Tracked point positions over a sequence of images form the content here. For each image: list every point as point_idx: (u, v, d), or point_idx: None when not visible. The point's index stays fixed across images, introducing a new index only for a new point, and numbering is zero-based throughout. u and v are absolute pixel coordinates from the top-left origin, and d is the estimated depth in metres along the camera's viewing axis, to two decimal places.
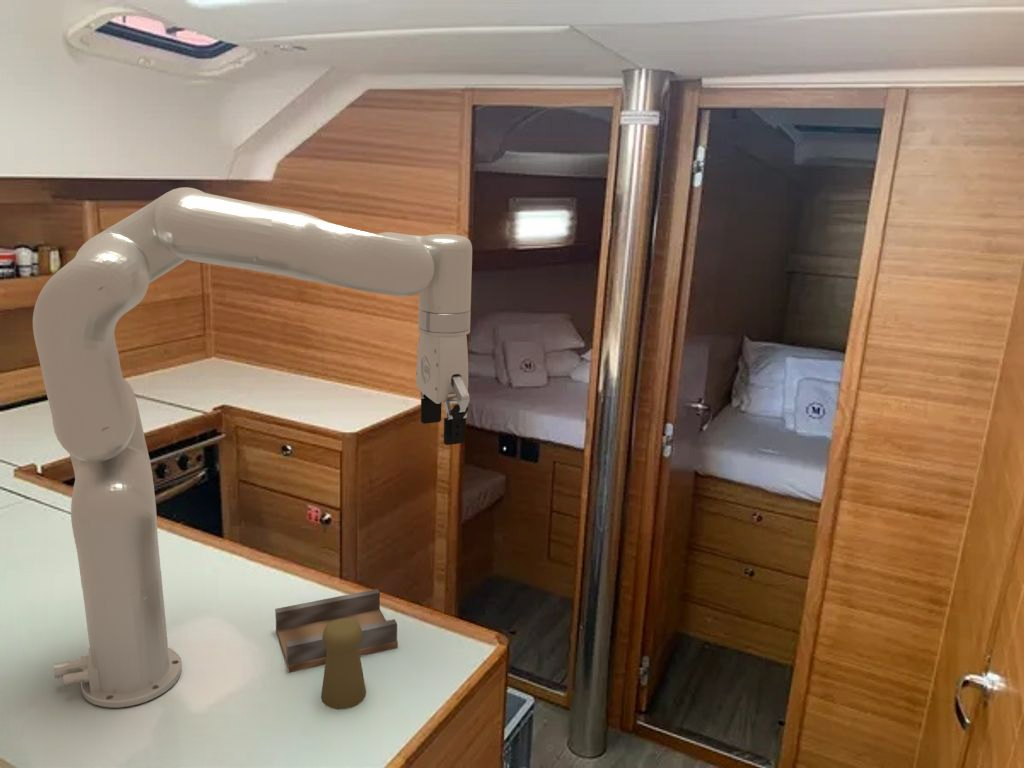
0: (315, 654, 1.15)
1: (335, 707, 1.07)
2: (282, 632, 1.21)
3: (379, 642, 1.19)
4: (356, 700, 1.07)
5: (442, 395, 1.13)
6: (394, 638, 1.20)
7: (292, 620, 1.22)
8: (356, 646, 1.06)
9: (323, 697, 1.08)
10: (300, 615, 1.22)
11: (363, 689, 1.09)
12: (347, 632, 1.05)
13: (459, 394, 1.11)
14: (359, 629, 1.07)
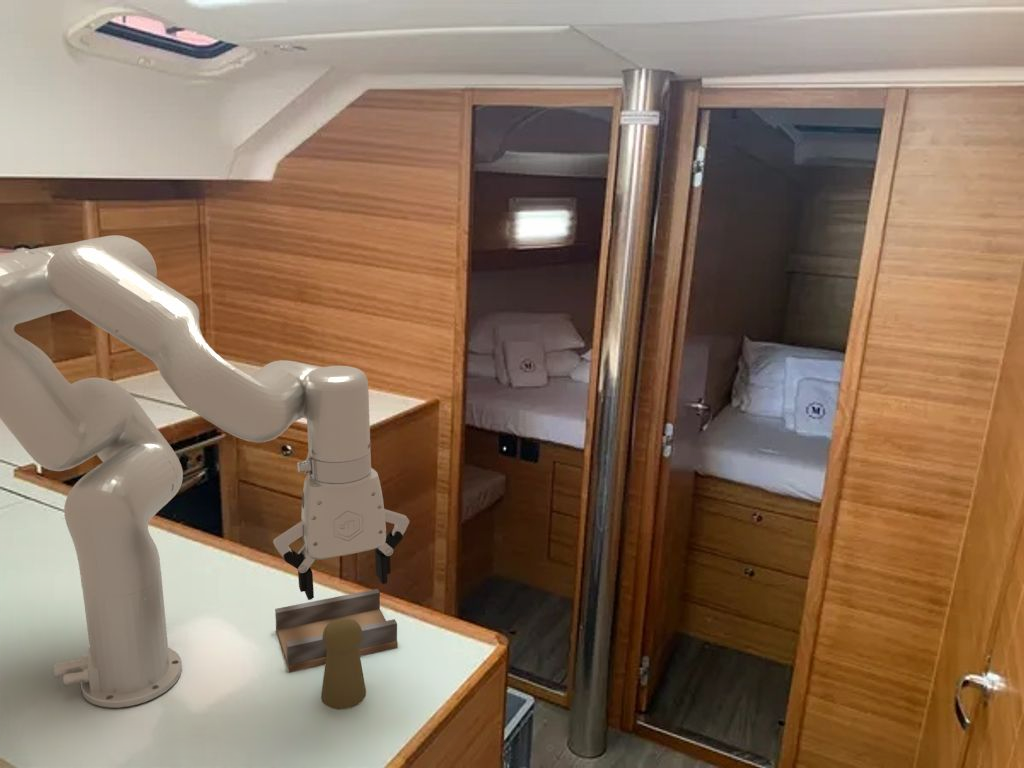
0: (315, 654, 1.15)
1: (335, 707, 1.07)
2: (282, 632, 1.21)
3: (379, 642, 1.19)
4: (356, 700, 1.07)
5: None
6: (394, 638, 1.20)
7: (292, 620, 1.22)
8: (356, 646, 1.06)
9: (323, 697, 1.08)
10: (300, 615, 1.22)
11: (363, 689, 1.09)
12: (347, 632, 1.05)
13: (402, 520, 1.05)
14: (359, 629, 1.07)
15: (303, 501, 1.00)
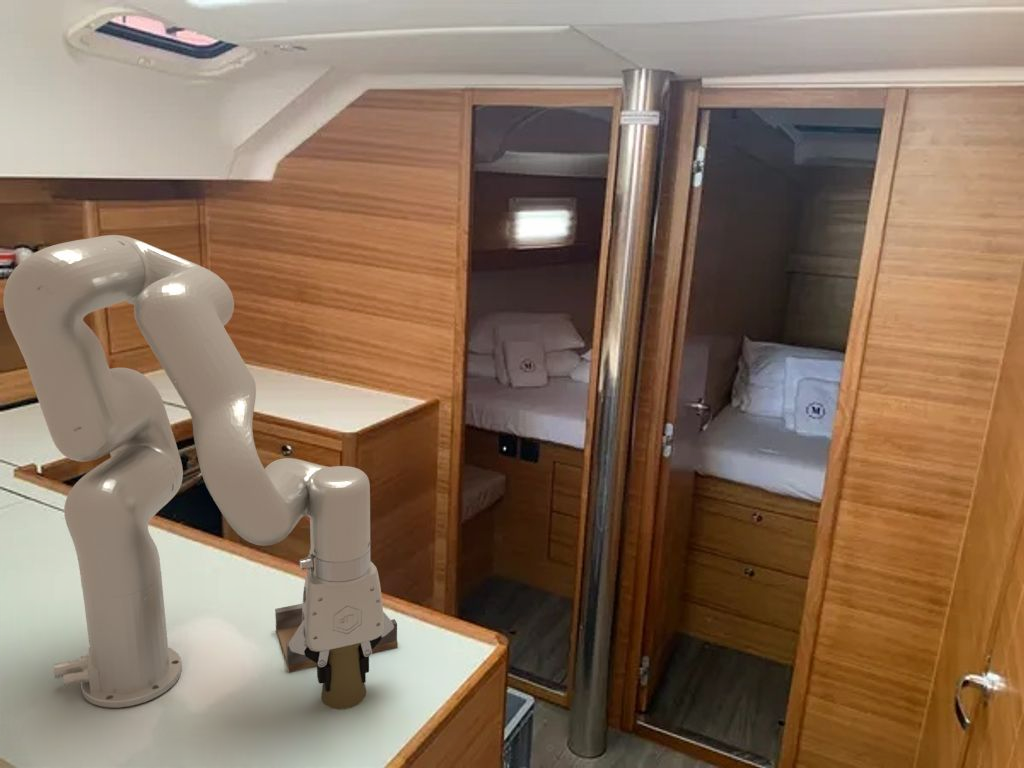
0: None
1: (335, 707, 1.07)
2: (282, 632, 1.21)
3: (379, 642, 1.19)
4: (356, 700, 1.07)
5: (383, 625, 1.07)
6: (394, 638, 1.20)
7: (292, 620, 1.22)
8: (356, 646, 1.06)
9: (323, 697, 1.08)
10: (300, 615, 1.22)
11: (363, 689, 1.09)
12: None
13: (389, 624, 1.09)
14: None
15: (304, 595, 1.04)
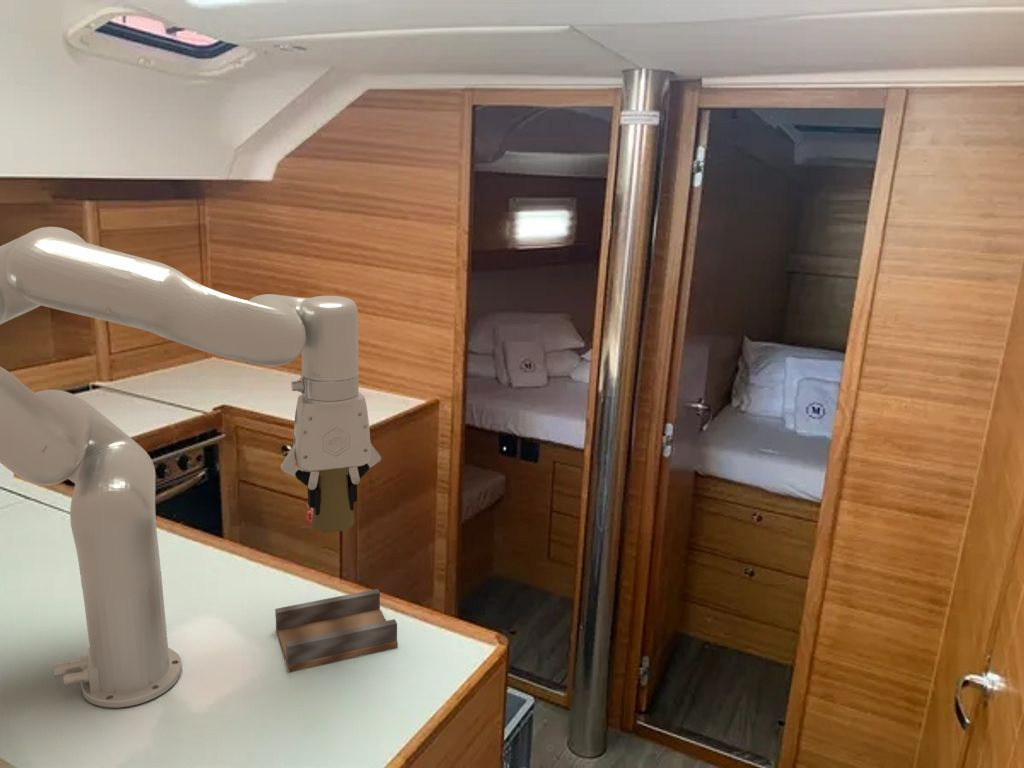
0: (315, 654, 1.15)
1: (324, 530, 1.13)
2: (282, 632, 1.21)
3: (379, 642, 1.19)
4: (344, 525, 1.13)
5: (370, 453, 1.13)
6: (394, 638, 1.20)
7: (292, 620, 1.22)
8: (344, 471, 1.12)
9: (313, 522, 1.14)
10: (300, 615, 1.22)
11: (351, 517, 1.15)
12: None
13: (376, 455, 1.15)
14: None
15: (296, 419, 1.10)
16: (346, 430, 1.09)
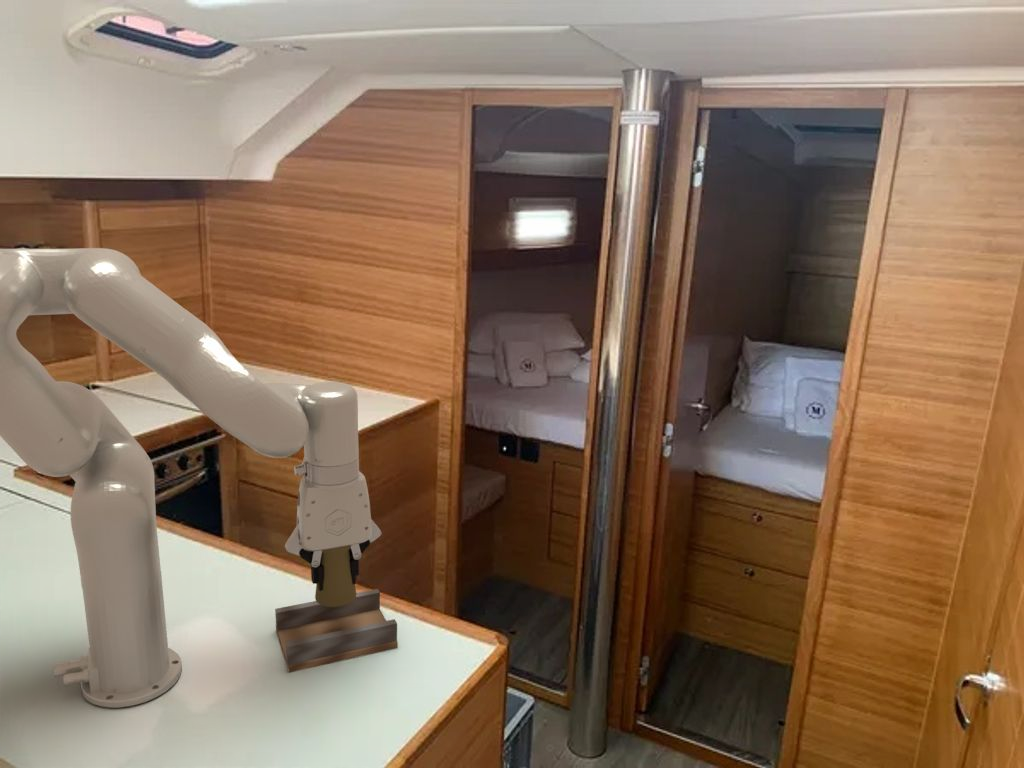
0: (315, 654, 1.15)
1: (328, 605, 1.17)
2: (282, 632, 1.21)
3: (379, 642, 1.19)
4: (347, 599, 1.17)
5: (371, 530, 1.17)
6: (394, 638, 1.20)
7: (292, 620, 1.22)
8: (346, 548, 1.16)
9: (317, 597, 1.18)
10: (300, 615, 1.22)
11: (354, 590, 1.19)
12: None
13: (377, 530, 1.19)
14: None
15: (299, 500, 1.14)
16: (348, 510, 1.13)
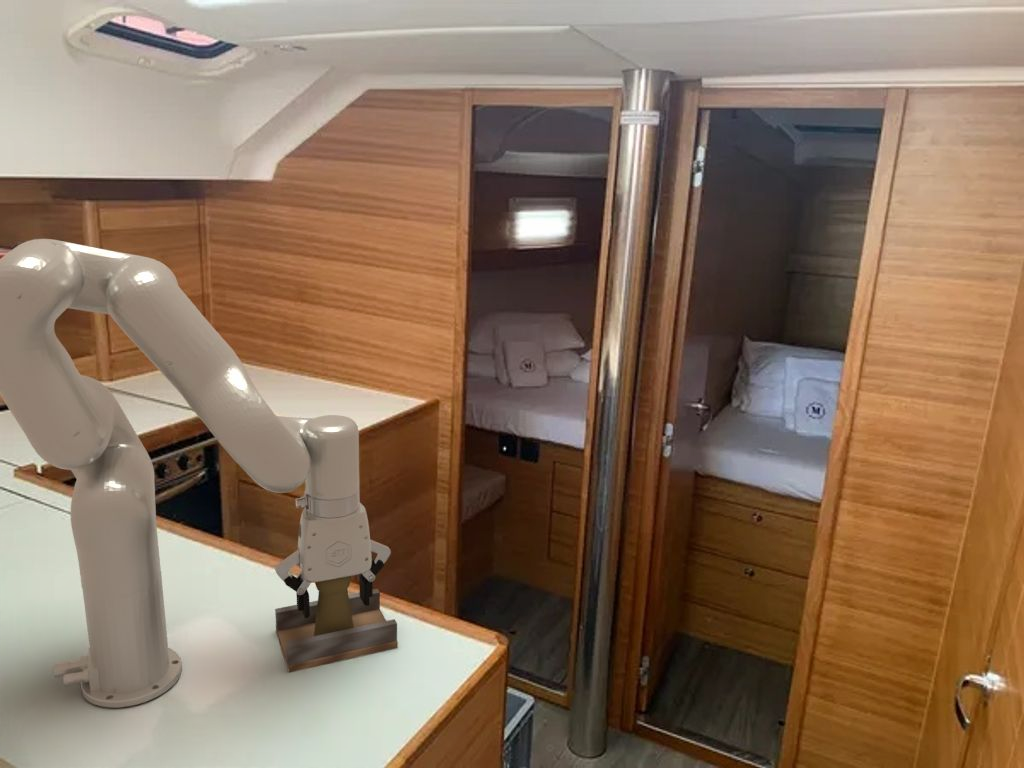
0: (315, 654, 1.15)
1: None
2: (282, 632, 1.21)
3: (379, 642, 1.19)
4: None
5: (371, 560, 1.18)
6: (394, 638, 1.20)
7: (292, 620, 1.22)
8: (345, 588, 1.17)
9: (315, 635, 1.19)
10: (300, 615, 1.22)
11: None
12: None
13: (385, 550, 1.20)
14: None
15: (300, 531, 1.15)
16: (348, 542, 1.15)
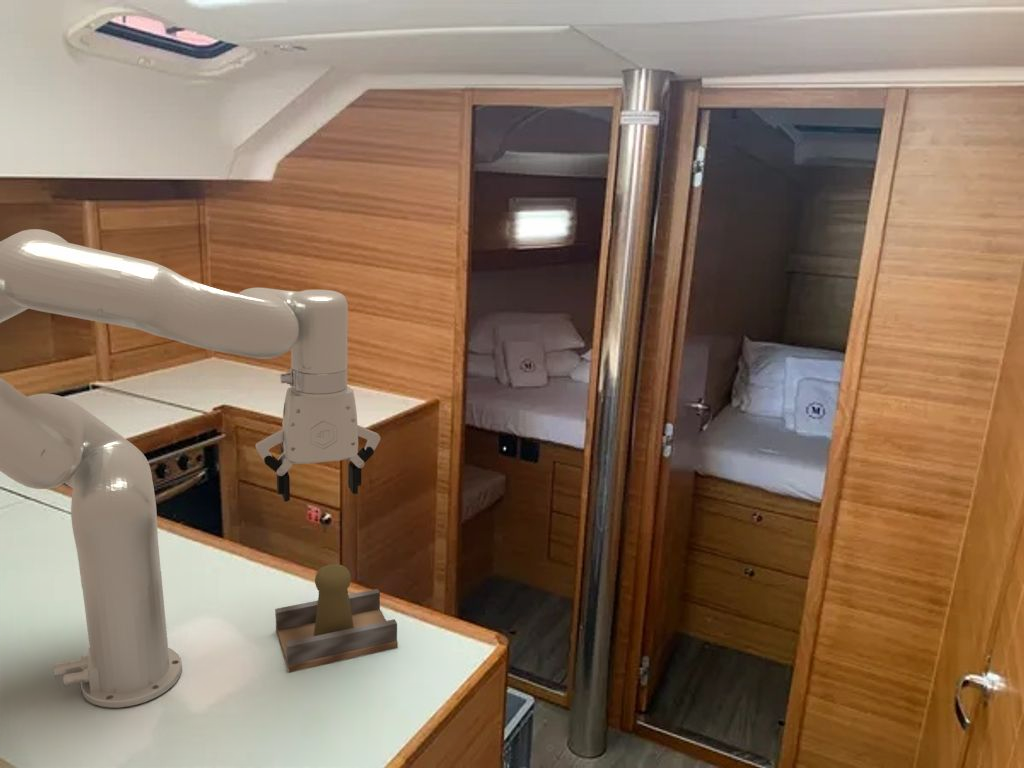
0: (315, 654, 1.15)
1: None
2: (282, 632, 1.21)
3: (379, 642, 1.19)
4: None
5: None
6: (394, 638, 1.20)
7: (292, 620, 1.22)
8: (345, 588, 1.17)
9: (315, 635, 1.19)
10: (300, 615, 1.22)
11: None
12: (337, 575, 1.17)
13: (374, 436, 1.16)
14: (348, 573, 1.18)
15: (284, 411, 1.11)
16: (334, 423, 1.10)
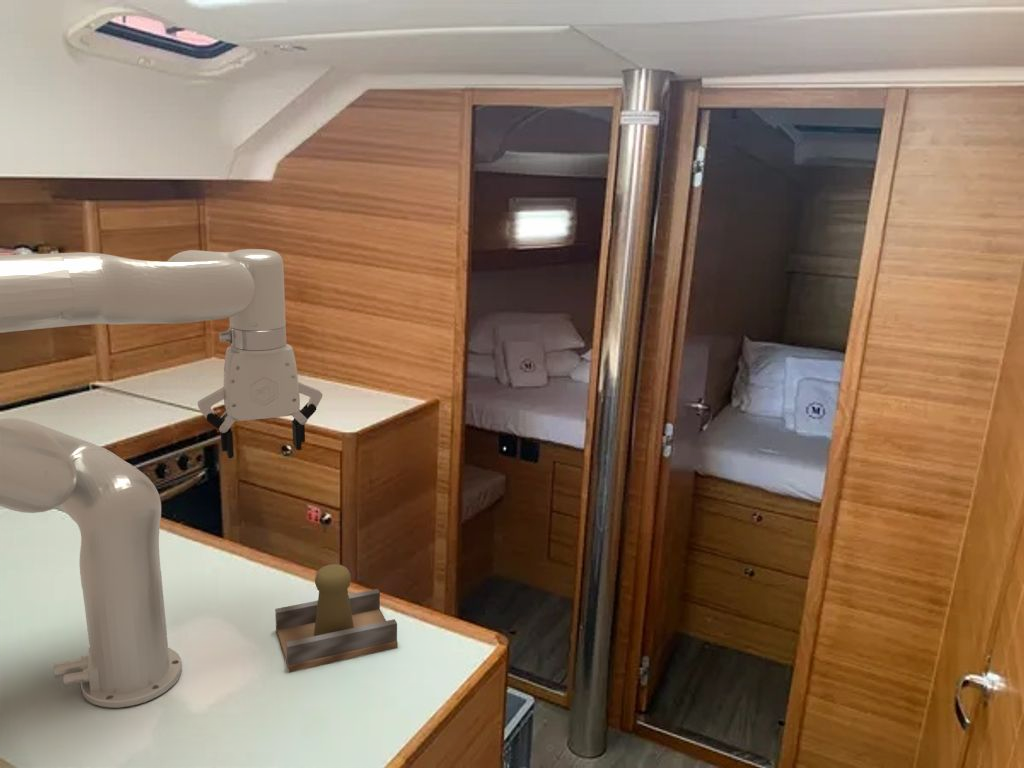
0: (315, 654, 1.15)
1: None
2: (282, 632, 1.21)
3: (379, 642, 1.19)
4: None
5: (299, 403, 1.16)
6: (394, 638, 1.20)
7: (292, 620, 1.22)
8: (345, 588, 1.17)
9: (315, 635, 1.19)
10: (300, 615, 1.22)
11: None
12: (337, 575, 1.17)
13: (316, 393, 1.18)
14: (348, 573, 1.18)
15: (225, 369, 1.13)
16: (274, 380, 1.13)
